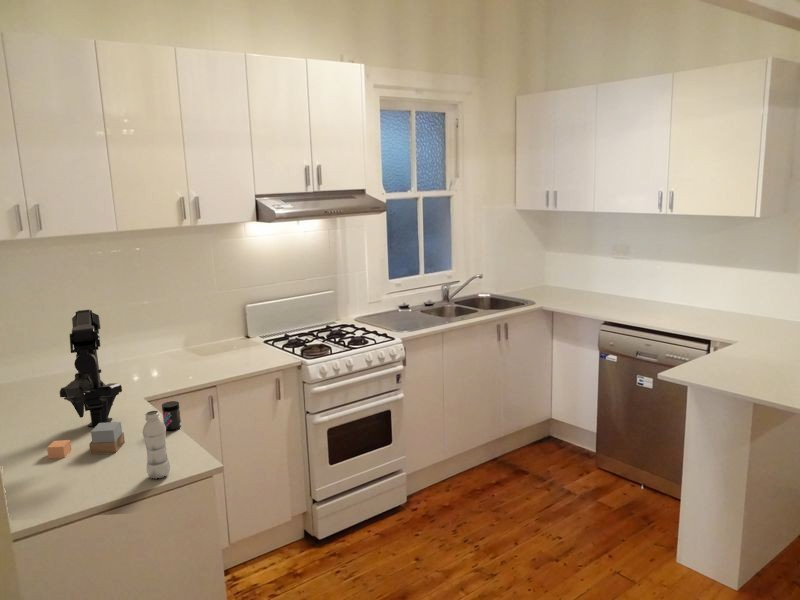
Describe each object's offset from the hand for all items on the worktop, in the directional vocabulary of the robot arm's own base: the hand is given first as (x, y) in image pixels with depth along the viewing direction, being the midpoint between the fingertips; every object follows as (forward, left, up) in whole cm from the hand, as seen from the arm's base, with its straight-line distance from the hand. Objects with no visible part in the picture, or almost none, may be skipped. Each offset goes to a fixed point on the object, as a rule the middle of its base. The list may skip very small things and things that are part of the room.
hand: (94, 417), depth 199 cm
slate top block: (-6, +1, -10) cm, 12 cm away
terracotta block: (-4, -14, -14) cm, 20 cm away
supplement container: (-21, +17, -14) cm, 30 cm away
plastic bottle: (+15, +23, -14) cm, 31 cm away
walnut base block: (-7, 0, -14) cm, 16 cm away
